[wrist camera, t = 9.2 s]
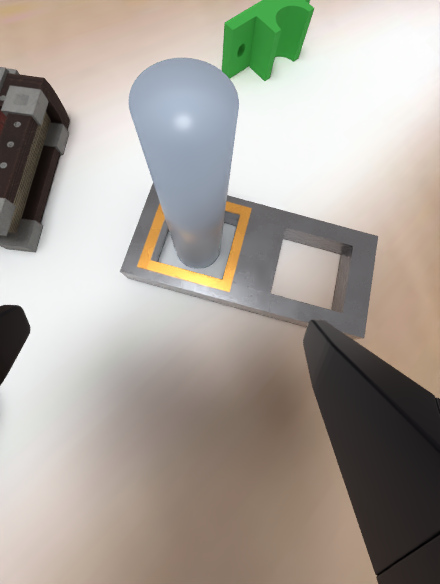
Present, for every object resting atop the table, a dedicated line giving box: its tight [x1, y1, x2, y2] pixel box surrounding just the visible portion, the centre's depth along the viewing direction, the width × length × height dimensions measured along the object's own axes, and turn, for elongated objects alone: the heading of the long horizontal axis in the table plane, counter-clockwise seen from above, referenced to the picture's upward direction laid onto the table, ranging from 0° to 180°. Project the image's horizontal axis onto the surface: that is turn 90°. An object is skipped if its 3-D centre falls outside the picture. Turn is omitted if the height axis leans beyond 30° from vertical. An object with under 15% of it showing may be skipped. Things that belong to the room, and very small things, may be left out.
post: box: [129, 58, 239, 268], centre depth 16 cm, size 4×4×14 cm
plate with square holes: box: [120, 183, 378, 339], centre depth 22 cm, size 20×9×2 cm, turn 75°
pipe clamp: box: [222, 0, 314, 81], centre depth 26 cm, size 11×4×5 cm, turn 131°
